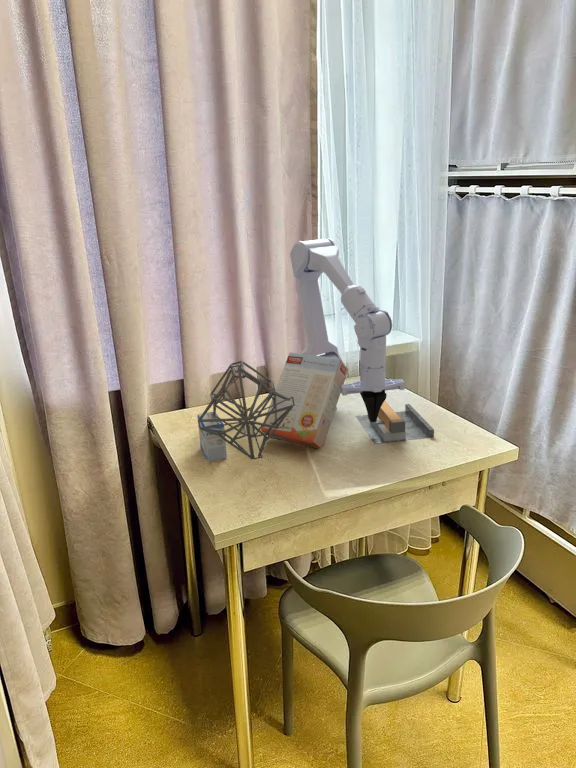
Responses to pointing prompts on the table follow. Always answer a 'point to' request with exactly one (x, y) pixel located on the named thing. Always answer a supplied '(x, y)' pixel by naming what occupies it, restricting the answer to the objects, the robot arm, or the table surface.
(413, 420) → the tray
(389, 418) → the swing bar
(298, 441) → the cracker box
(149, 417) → the table surface
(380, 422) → the block
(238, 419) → the geometric lantern
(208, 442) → the medicine box
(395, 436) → the module
